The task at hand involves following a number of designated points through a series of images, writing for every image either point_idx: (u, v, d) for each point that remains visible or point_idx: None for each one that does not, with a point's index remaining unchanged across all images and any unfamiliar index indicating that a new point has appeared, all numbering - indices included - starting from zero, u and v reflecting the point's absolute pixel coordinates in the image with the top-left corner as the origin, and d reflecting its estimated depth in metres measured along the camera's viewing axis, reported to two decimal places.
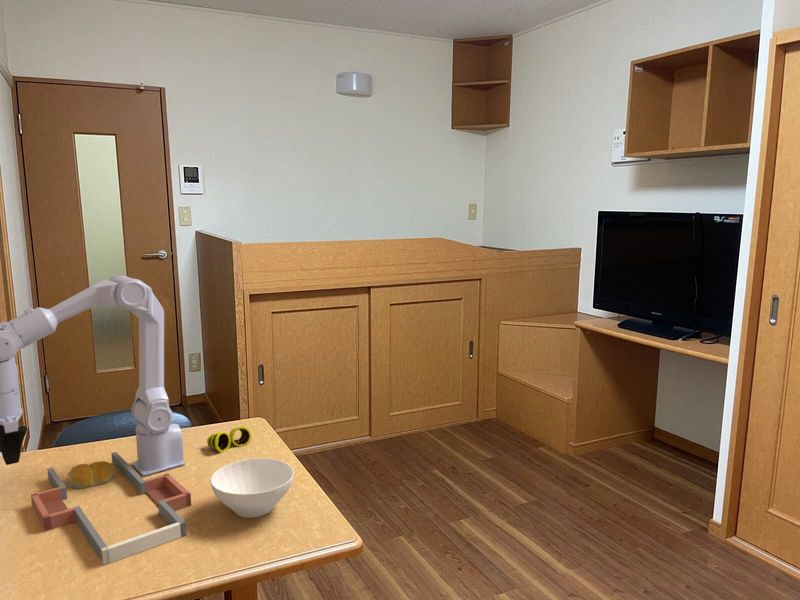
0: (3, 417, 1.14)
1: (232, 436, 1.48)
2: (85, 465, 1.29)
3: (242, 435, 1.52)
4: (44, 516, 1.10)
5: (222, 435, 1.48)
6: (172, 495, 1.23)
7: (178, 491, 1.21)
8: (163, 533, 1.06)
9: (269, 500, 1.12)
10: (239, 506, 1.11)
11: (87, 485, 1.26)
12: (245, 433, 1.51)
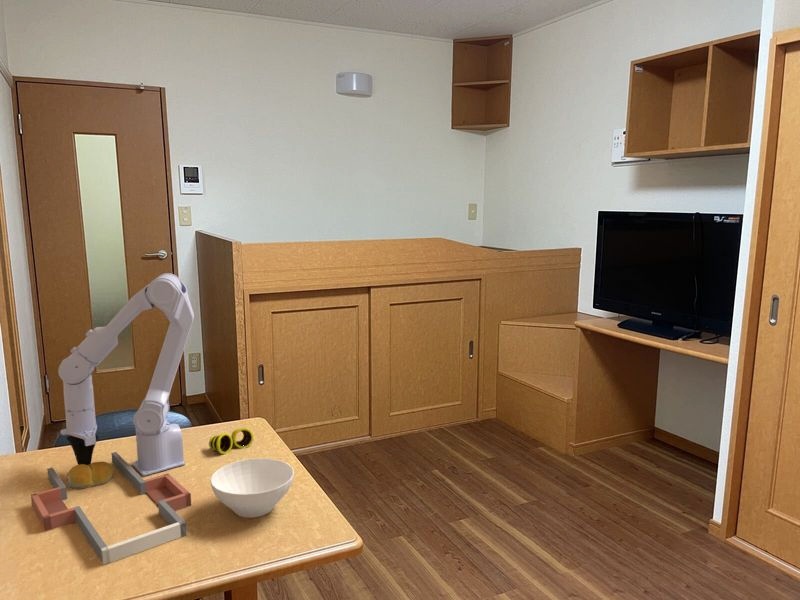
0: (82, 432, 1.29)
1: (234, 438, 1.47)
2: (84, 465, 1.29)
3: (244, 437, 1.51)
4: (44, 516, 1.10)
5: (224, 437, 1.47)
6: (172, 495, 1.23)
7: (178, 491, 1.21)
8: (163, 533, 1.06)
9: (269, 500, 1.12)
10: (239, 506, 1.11)
11: (86, 485, 1.26)
12: (247, 435, 1.50)
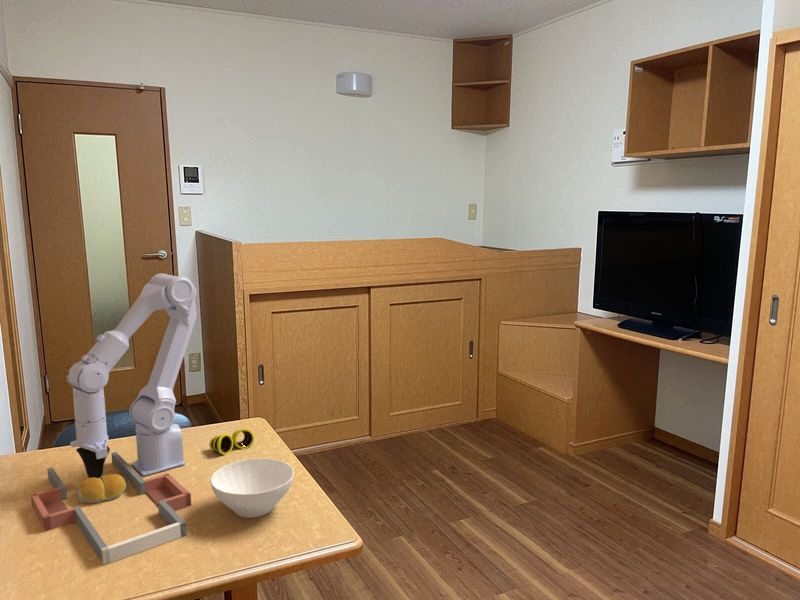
0: (93, 444, 1.23)
1: (235, 438, 1.46)
2: (95, 479, 1.22)
3: (245, 437, 1.51)
4: (44, 516, 1.10)
5: (225, 437, 1.46)
6: (172, 495, 1.23)
7: (178, 491, 1.21)
8: (163, 533, 1.06)
9: (269, 500, 1.12)
10: (239, 506, 1.11)
11: (98, 500, 1.20)
12: (248, 436, 1.50)
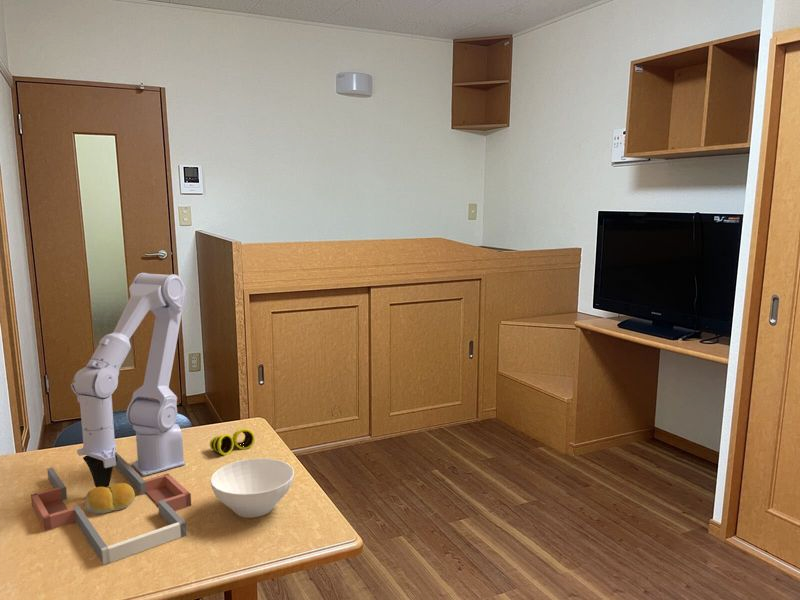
0: (100, 452, 1.19)
1: (235, 439, 1.46)
2: (103, 488, 1.18)
3: (245, 438, 1.51)
4: (44, 516, 1.10)
5: (225, 438, 1.46)
6: (172, 495, 1.23)
7: (178, 491, 1.21)
8: (163, 533, 1.06)
9: (269, 500, 1.12)
10: (239, 506, 1.11)
11: (106, 510, 1.16)
12: (248, 436, 1.50)
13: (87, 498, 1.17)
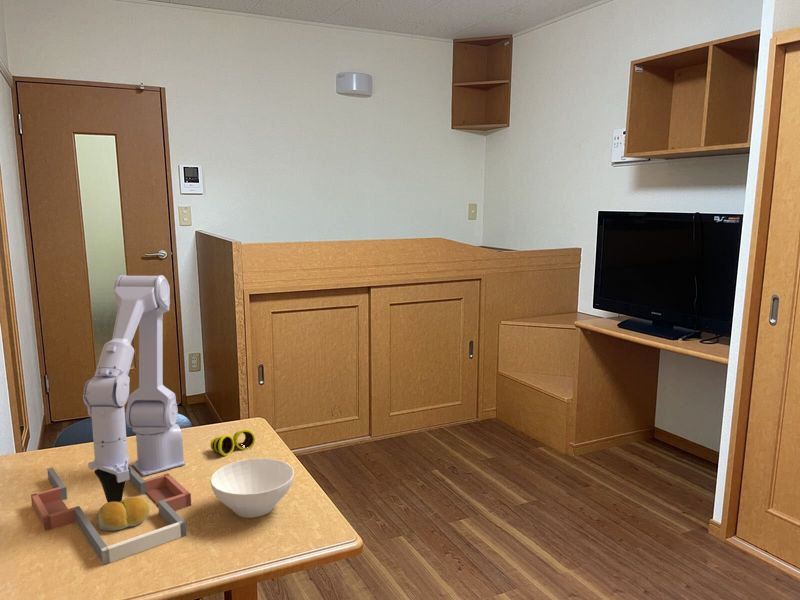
0: (113, 465, 1.13)
1: (236, 439, 1.46)
2: (116, 503, 1.12)
3: (246, 438, 1.50)
4: (44, 516, 1.10)
5: (226, 438, 1.46)
6: (172, 495, 1.23)
7: (178, 491, 1.21)
8: (163, 533, 1.06)
9: (269, 500, 1.12)
10: (239, 506, 1.11)
11: (120, 527, 1.10)
12: (249, 437, 1.49)
13: (100, 514, 1.11)
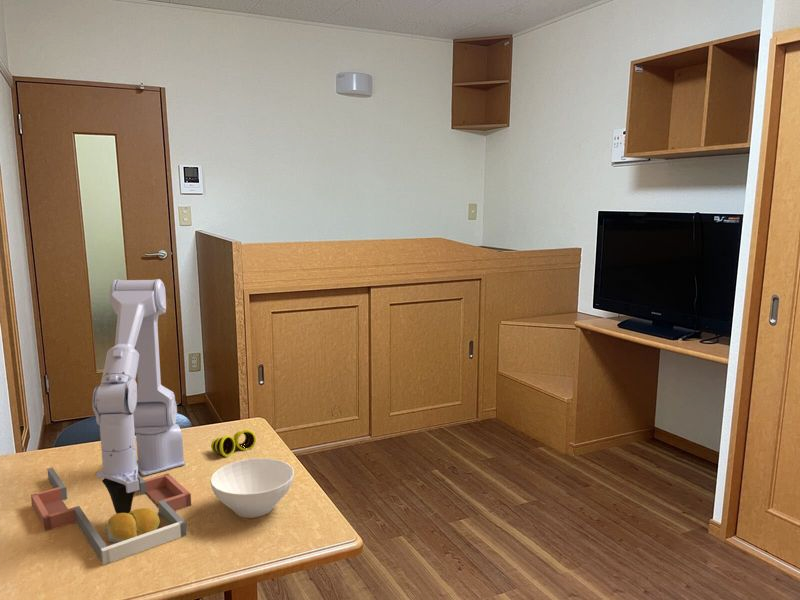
0: (122, 475, 1.09)
1: (237, 440, 1.45)
2: (126, 515, 1.09)
3: (246, 439, 1.50)
4: (44, 516, 1.10)
5: (226, 439, 1.45)
6: (172, 495, 1.23)
7: (178, 491, 1.21)
8: (163, 533, 1.06)
9: (269, 500, 1.12)
10: (239, 506, 1.11)
11: None
12: (249, 437, 1.49)
13: (109, 526, 1.07)
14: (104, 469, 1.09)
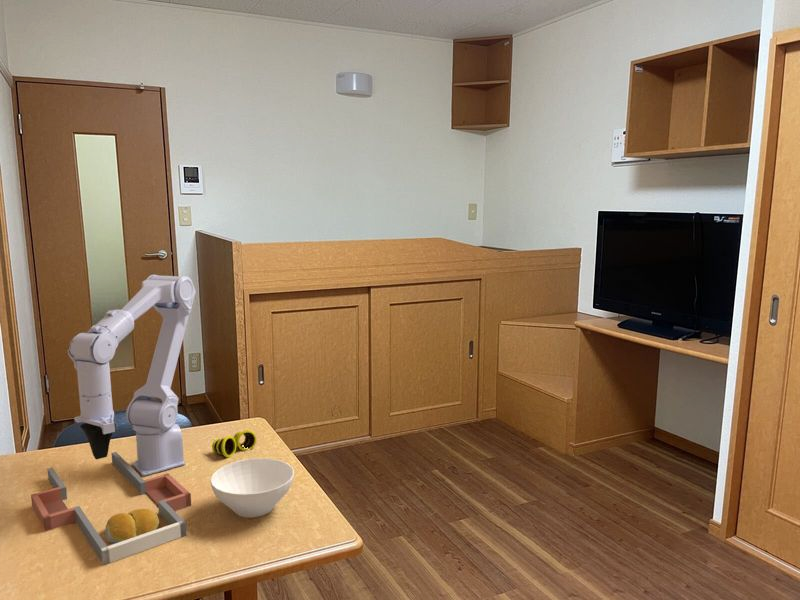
0: (98, 419, 1.17)
1: (238, 440, 1.45)
2: (125, 515, 1.08)
3: (246, 439, 1.50)
4: (44, 516, 1.10)
5: (227, 440, 1.45)
6: (172, 495, 1.23)
7: (178, 491, 1.21)
8: (163, 533, 1.06)
9: (269, 500, 1.12)
10: (239, 506, 1.11)
11: None
12: (249, 437, 1.49)
13: (108, 527, 1.07)
14: (82, 414, 1.17)
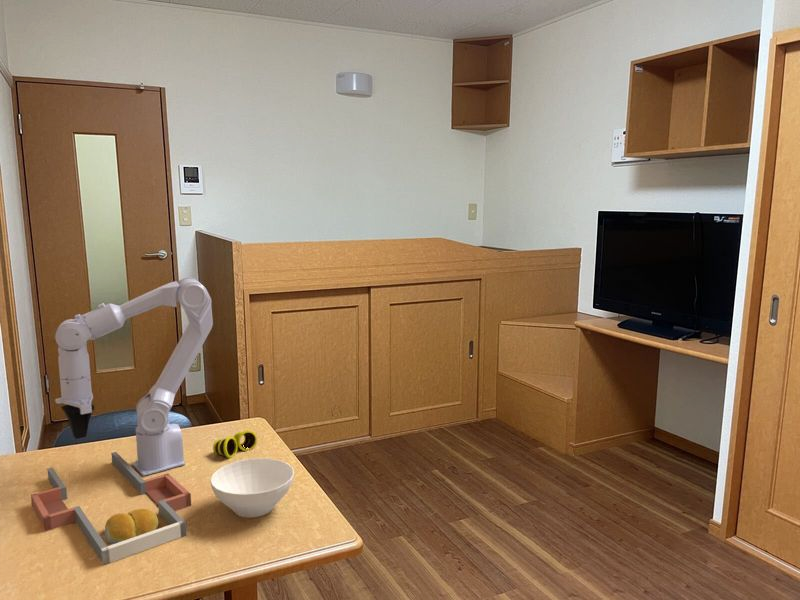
0: (77, 400, 1.25)
1: (239, 441, 1.45)
2: (124, 515, 1.08)
3: (246, 439, 1.50)
4: (44, 516, 1.10)
5: (228, 440, 1.44)
6: (172, 495, 1.23)
7: (178, 491, 1.21)
8: (163, 533, 1.06)
9: (269, 500, 1.12)
10: (239, 506, 1.11)
11: None
12: (249, 437, 1.49)
13: (107, 527, 1.07)
14: (62, 396, 1.26)
